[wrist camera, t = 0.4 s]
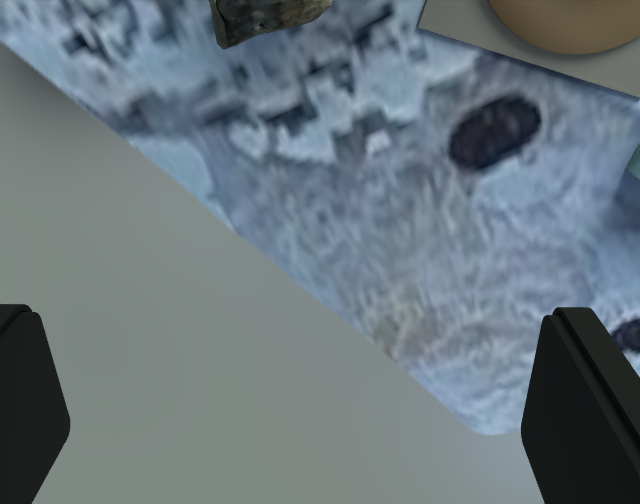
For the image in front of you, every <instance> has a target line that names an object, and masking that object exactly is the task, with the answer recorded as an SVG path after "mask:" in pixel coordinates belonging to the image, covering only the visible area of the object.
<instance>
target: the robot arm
mask: <svg viewBox="0 0 640 504" xmlns="http://www.w3.org/2000/svg"><path fill="white" fill-rule="evenodd" d="M69 432H70V417H69V413H68V410H67V407H66V403H65V400H64V396H63V393H62V389H61V386H60V382H59V379H58V375H57V372H56V369H55V365H54V362H53V358H52V355H51V352H50V348H49V344H48V341H47V337H46V334H45V330H44V327H43V324H42V320H41V317H40V315H39V314H38V313H36V312H32V310H31V309H30V307H29V306H27V305H25V304H0V504H32V502H33V500H34V498H35V496H36V495H37V493H38V491H39V489H40V487H41V485H42V484H43V482H44V480H45V478H46V476H47V474H48V473H49V471H50V469H51V467H52V465H53V464H54V462H55V460H56V458H57V456H58V455H59V452H60V450H61V449H62V447H63V445H64V443H65V442H66V440H67V438H68V435H69ZM521 437H522V442H523V446H524V448H525V451H526V454H527V457H528V459H529V462H530V465H531V467H532V470H533V473H534V475H535V478H536V481H537V484H538V486H539V489H540V492H541V494H542V497H543V500H544V503H545V504H640V377H639V376H638V374H637V373H636V372H635V370H634V369H633V367H632V366H631V364H630V363H629V361H628V360H627V359H626V357H625V356H624V354H623V353H622V351H621V350H620V349H619V347H618V346H617V344H616V343H615V341H614V340H613V338H612V337H611V336H610V334H609V333H608V331H607V330H606V328H605V327H604V326H603V324H602V323H601V321H600V320H599V318H598V317H597V315H596V314H595V313H594V311H593V310H592V309H591V308H588V307H557V308H556V309H555V310H554V311H553V314H552V315H546V316H544V318H543V321H542V324H541V329H540V334H539V339H538V344H537V349H536V354H535V359H534V364H533V369H532V374H531V379H530V383H529V388H528V393H527V398H526V403H525V408H524V413H523V418H522V423H521Z"/></svg>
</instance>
